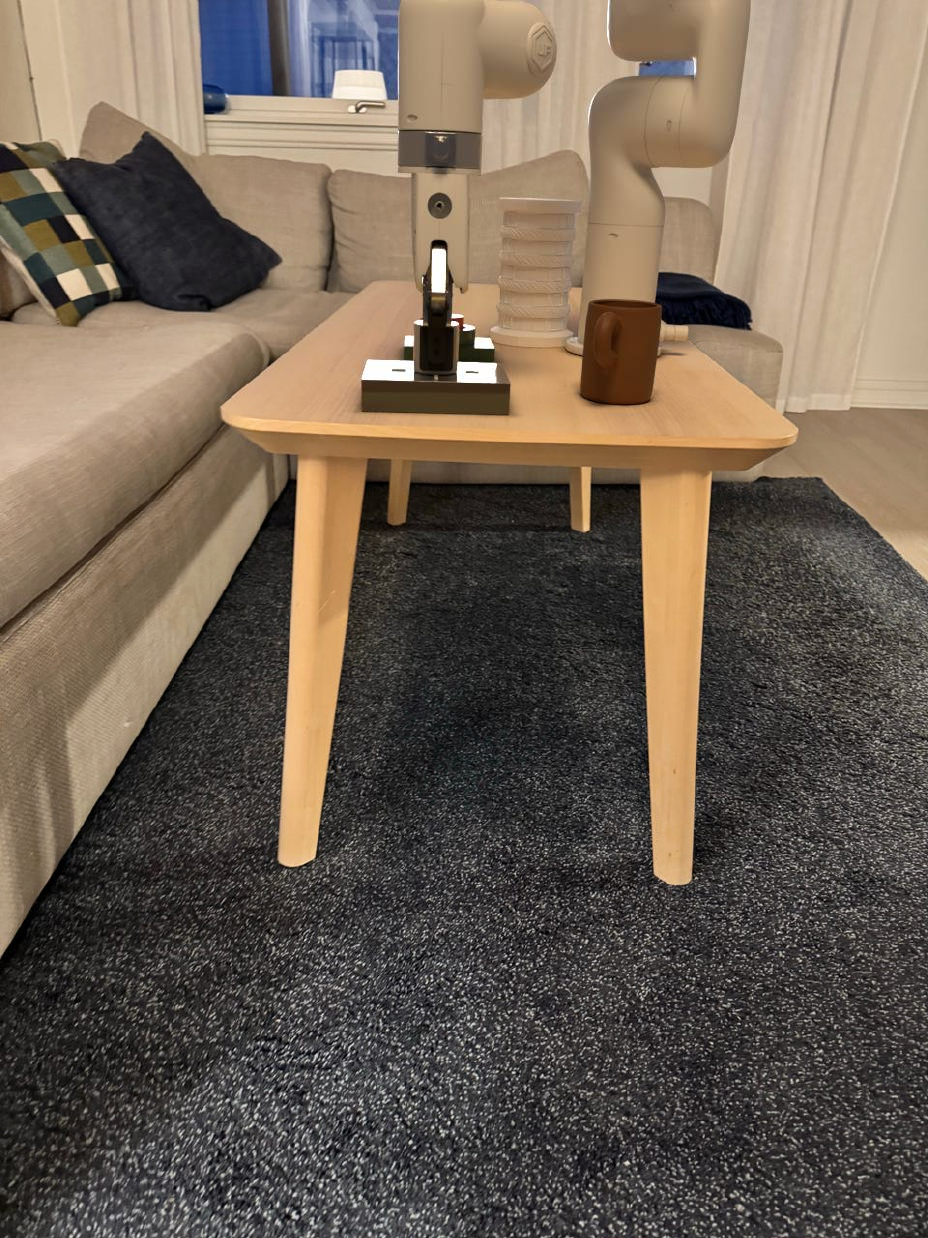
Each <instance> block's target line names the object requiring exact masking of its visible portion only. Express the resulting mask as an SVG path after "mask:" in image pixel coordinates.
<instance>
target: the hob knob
mask: <svg viewBox="0 0 928 1238" xmlns="http://www.w3.org/2000/svg"><path fill="white" fill-rule="evenodd" d="M420 326H423V320H420V319H419V320H416V321H414V322H413V336H414V343H413V360H412V361H413V370H414V371H416V372H418V373H423V374H432V375H446V374H453V373H456V372H457V371H458V352H459V323H457V322H453V321H452V327H454V350H453V369H452V370H451V371H423V370H421V369H420V367H419V357H420Z"/></svg>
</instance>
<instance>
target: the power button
mask: <svg viewBox="0 0 928 1238" xmlns="http://www.w3.org/2000/svg"><path fill="white" fill-rule="evenodd" d="M464 318H465V316H464V315H462V314H455V313H452V321H453V322H457V323H459V329H463V328H464V325H465V319H464Z"/></svg>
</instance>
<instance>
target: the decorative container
mask: <svg viewBox="0 0 928 1238" xmlns="http://www.w3.org/2000/svg"><path fill="white" fill-rule="evenodd" d="M582 202H583V201H582V200H576V199H559V198H538V197H537V198H534V197H499V198H498V209H499V210H500V211H502V213H503V215H502V216H503V217H502V225H501V226H500V230H499V233H500V238H501V250H500V251H499V253H498V260H499V264H500V275H499V276H498V279H497V286H498V289H499V298H498V299H499V300H497V303H496V312H497V314H498V320H497V325H495V326H493V327H491V328H490V335H489V338H490V339H491V341H492V342H493V343H498V344H500V345H506V346H513V347H524V348H560V347H565V344H566V340H567V339H569V338H573V337H574V332H573V331H572V330H570V329H568V328H567V322H568V321H567V320H568V316H569V315H570V312H571V305H570V303H569V298H570V292H571V291H572V287H573V281H572V279H571V273H572V272H571V271H572V267H573V266H574V262H575V256H574V254H573V247H574V241H576V237H577V228H575V222H576V214H579V213H581V211H582Z"/></svg>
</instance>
